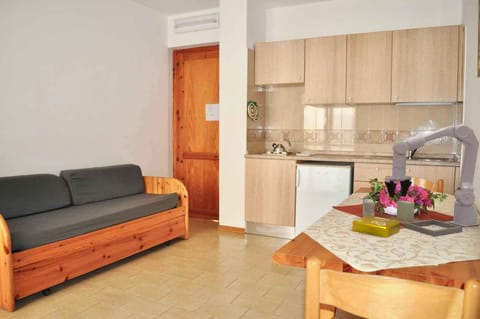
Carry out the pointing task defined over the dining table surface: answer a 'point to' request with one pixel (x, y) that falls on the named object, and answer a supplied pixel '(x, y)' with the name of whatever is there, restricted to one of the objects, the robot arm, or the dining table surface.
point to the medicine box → (368, 207)
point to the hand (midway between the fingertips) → (397, 196)
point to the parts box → (405, 210)
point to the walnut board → (402, 220)
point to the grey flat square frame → (449, 229)
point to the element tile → (376, 226)
